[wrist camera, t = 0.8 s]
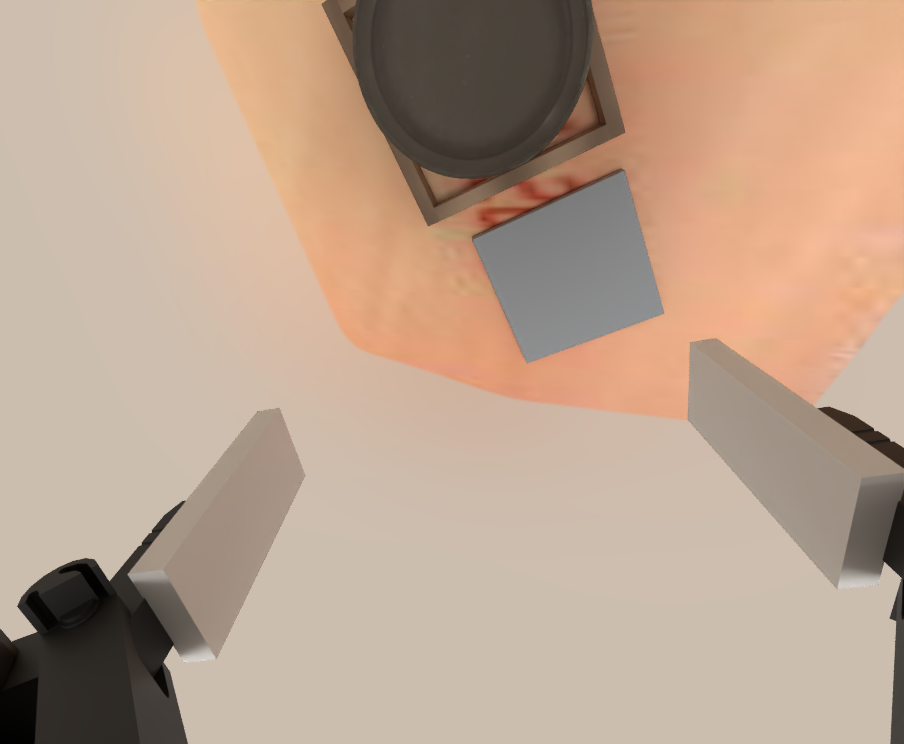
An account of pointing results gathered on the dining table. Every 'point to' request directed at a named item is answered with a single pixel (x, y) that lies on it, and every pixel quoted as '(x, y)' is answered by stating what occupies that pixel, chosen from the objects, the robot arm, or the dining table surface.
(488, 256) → the mat
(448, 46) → the coffee can
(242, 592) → the robot arm
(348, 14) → the square picture frame
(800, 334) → the dining table surface
